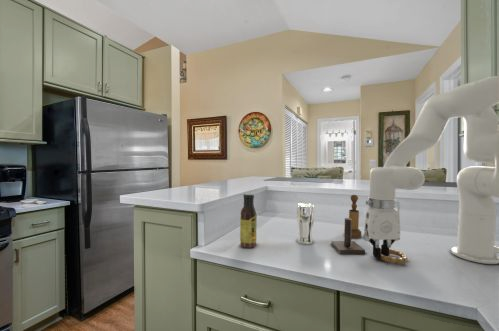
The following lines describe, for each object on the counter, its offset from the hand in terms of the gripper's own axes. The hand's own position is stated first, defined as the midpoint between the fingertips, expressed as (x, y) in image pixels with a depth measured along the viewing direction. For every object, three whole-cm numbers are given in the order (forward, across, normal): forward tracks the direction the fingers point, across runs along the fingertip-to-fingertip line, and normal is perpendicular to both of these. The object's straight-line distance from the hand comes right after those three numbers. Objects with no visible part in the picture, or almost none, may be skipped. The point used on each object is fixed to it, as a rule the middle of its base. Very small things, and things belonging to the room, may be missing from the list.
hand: (380, 257), depth 83 cm
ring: (-1, +4, 0) cm, 4 cm away
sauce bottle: (0, -45, +13) cm, 46 cm away
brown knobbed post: (+1, +1, +24) cm, 24 cm away
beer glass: (+1, -22, +17) cm, 27 cm away
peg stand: (+1, -8, +9) cm, 12 cm away
